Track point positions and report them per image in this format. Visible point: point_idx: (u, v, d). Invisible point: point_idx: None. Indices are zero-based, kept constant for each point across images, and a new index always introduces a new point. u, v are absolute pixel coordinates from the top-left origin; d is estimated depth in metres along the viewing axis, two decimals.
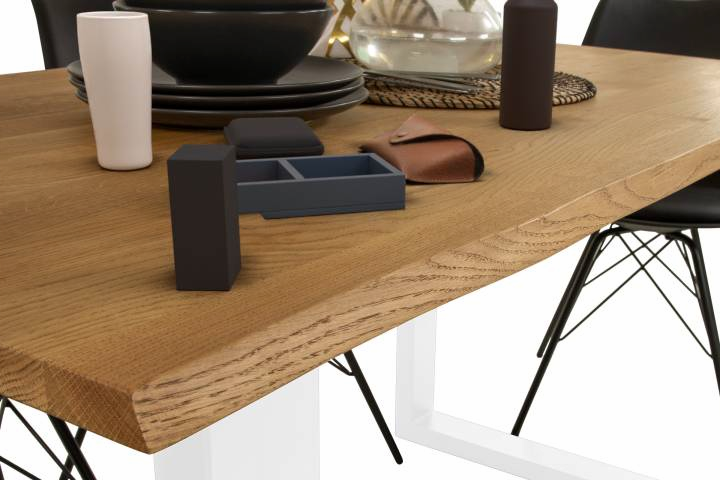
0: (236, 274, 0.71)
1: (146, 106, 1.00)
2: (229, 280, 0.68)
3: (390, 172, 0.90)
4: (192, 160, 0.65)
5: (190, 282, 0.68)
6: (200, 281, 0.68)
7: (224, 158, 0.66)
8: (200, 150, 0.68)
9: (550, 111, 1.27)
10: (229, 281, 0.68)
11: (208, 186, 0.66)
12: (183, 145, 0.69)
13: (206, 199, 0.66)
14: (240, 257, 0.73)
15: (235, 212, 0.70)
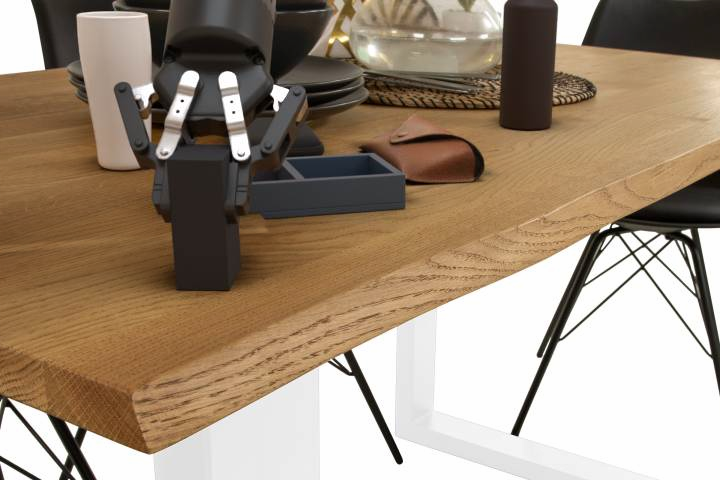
0: (236, 274, 0.71)
1: None
2: (229, 280, 0.68)
3: (390, 172, 0.90)
4: (192, 160, 0.65)
5: (190, 282, 0.68)
6: (200, 281, 0.68)
7: (224, 158, 0.66)
8: (200, 150, 0.68)
9: (550, 111, 1.27)
10: (229, 281, 0.68)
11: (208, 186, 0.66)
12: (183, 145, 0.69)
13: (206, 199, 0.66)
14: (240, 257, 0.73)
15: None
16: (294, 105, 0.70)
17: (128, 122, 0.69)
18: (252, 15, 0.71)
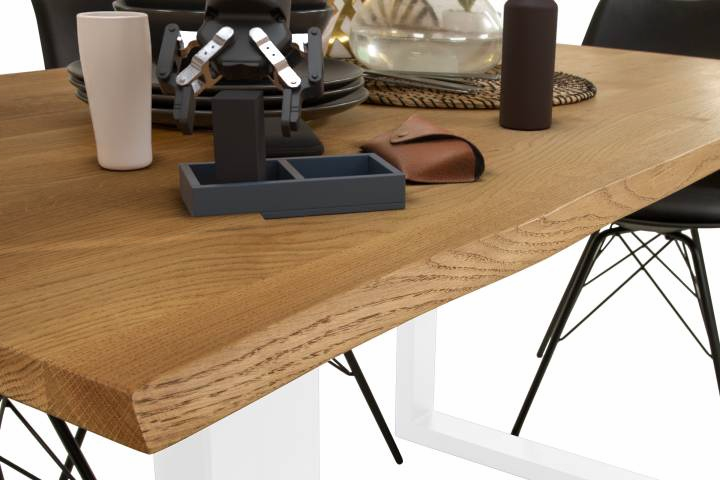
0: None
1: (146, 106, 1.00)
2: None
3: (390, 172, 0.90)
4: (231, 99, 0.84)
5: None
6: None
7: (255, 98, 0.85)
8: (236, 93, 0.86)
9: (550, 111, 1.27)
10: None
11: (243, 120, 0.84)
12: (222, 90, 0.88)
13: (242, 130, 0.85)
14: None
15: (263, 144, 0.89)
16: (317, 41, 0.88)
17: (163, 54, 0.87)
18: None
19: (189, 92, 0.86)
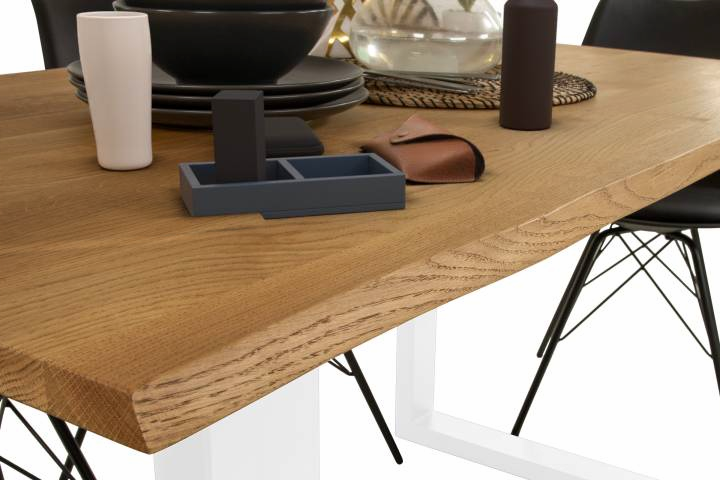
0: None
1: (146, 106, 1.00)
2: None
3: (390, 172, 0.90)
4: (231, 99, 0.84)
5: None
6: None
7: (255, 98, 0.85)
8: (236, 93, 0.86)
9: (550, 111, 1.27)
10: None
11: (243, 120, 0.84)
12: (222, 90, 0.88)
13: (242, 130, 0.85)
14: None
15: (263, 144, 0.89)
16: None
17: None
18: None
19: None
